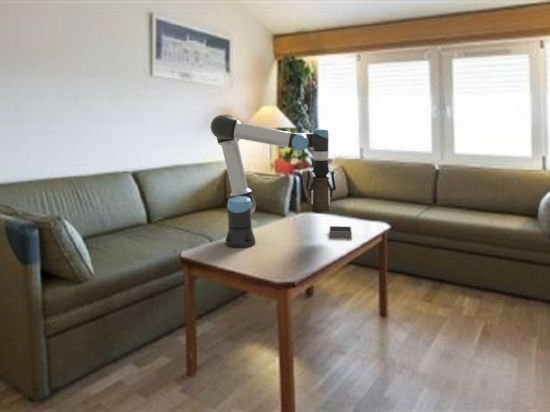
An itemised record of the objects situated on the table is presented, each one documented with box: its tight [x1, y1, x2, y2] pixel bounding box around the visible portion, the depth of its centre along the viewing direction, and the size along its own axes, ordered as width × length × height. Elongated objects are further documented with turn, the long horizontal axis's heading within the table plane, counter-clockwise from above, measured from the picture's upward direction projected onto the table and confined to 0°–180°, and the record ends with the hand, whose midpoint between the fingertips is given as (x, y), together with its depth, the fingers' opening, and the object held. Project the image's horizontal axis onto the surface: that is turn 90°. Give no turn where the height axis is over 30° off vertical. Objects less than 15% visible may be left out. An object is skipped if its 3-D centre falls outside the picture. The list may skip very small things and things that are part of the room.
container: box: [311, 176, 330, 214], centre depth 238 cm, size 9×9×18 cm
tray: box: [328, 225, 353, 239], centre depth 247 cm, size 12×12×4 cm
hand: (320, 203), depth 239 cm, fingers closed on container, 8 cm apart
